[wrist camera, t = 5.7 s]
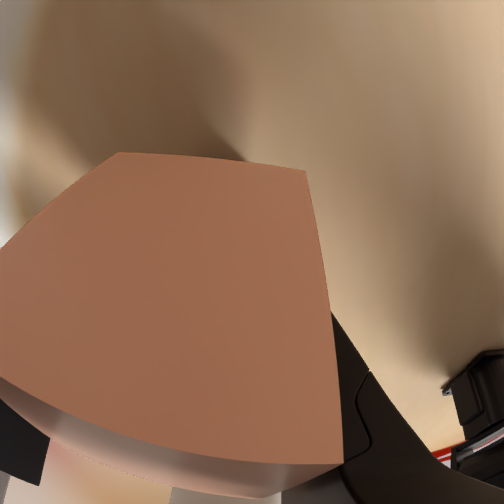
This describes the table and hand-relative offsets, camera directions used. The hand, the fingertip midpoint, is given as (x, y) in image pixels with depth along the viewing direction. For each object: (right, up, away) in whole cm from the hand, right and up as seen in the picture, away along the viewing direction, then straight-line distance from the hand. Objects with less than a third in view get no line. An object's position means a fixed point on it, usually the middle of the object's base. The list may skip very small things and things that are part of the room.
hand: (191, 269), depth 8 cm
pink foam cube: (0, +1, +1) cm, 1 cm away
